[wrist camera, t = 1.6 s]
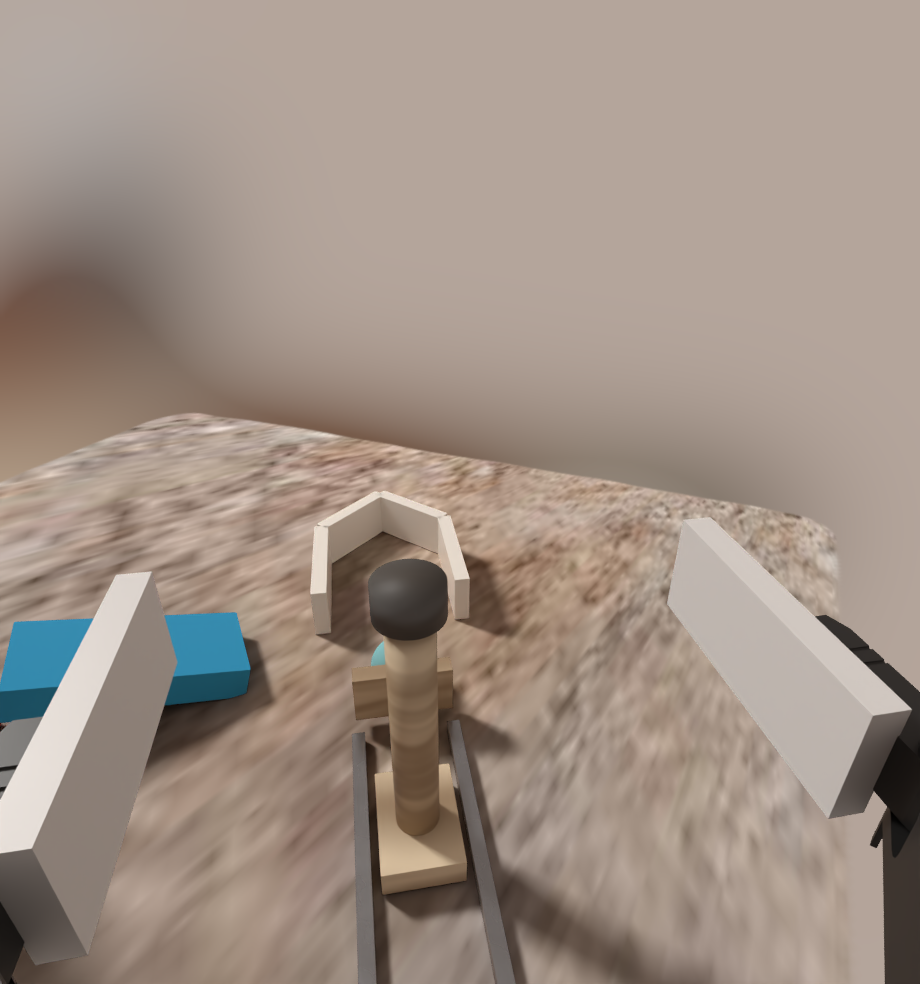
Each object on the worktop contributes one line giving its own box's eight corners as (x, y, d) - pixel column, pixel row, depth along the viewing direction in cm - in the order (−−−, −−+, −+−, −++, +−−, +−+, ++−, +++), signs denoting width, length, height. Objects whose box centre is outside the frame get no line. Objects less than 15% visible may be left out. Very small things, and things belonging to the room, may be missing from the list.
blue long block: (225, 683, 52) (-53, 709, 43) (236, 612, 49) (-56, 625, 40) (237, 745, 46) (-78, 791, 37) (250, 669, 44) (-84, 698, 35)
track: (531, 1069, 26) (532, 1061, 26) (362, 1107, 25) (361, 1099, 25) (459, 728, 42) (459, 719, 42) (353, 742, 41) (352, 733, 40)
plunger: (485, 877, 33) (496, 618, 25) (362, 898, 32) (331, 636, 24) (450, 703, 44) (449, 480, 35) (356, 715, 43) (333, 489, 34)
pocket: (469, 617, 52) (469, 578, 50) (315, 634, 50) (310, 594, 48) (441, 520, 66) (441, 486, 64) (320, 530, 64) (316, 495, 62)
